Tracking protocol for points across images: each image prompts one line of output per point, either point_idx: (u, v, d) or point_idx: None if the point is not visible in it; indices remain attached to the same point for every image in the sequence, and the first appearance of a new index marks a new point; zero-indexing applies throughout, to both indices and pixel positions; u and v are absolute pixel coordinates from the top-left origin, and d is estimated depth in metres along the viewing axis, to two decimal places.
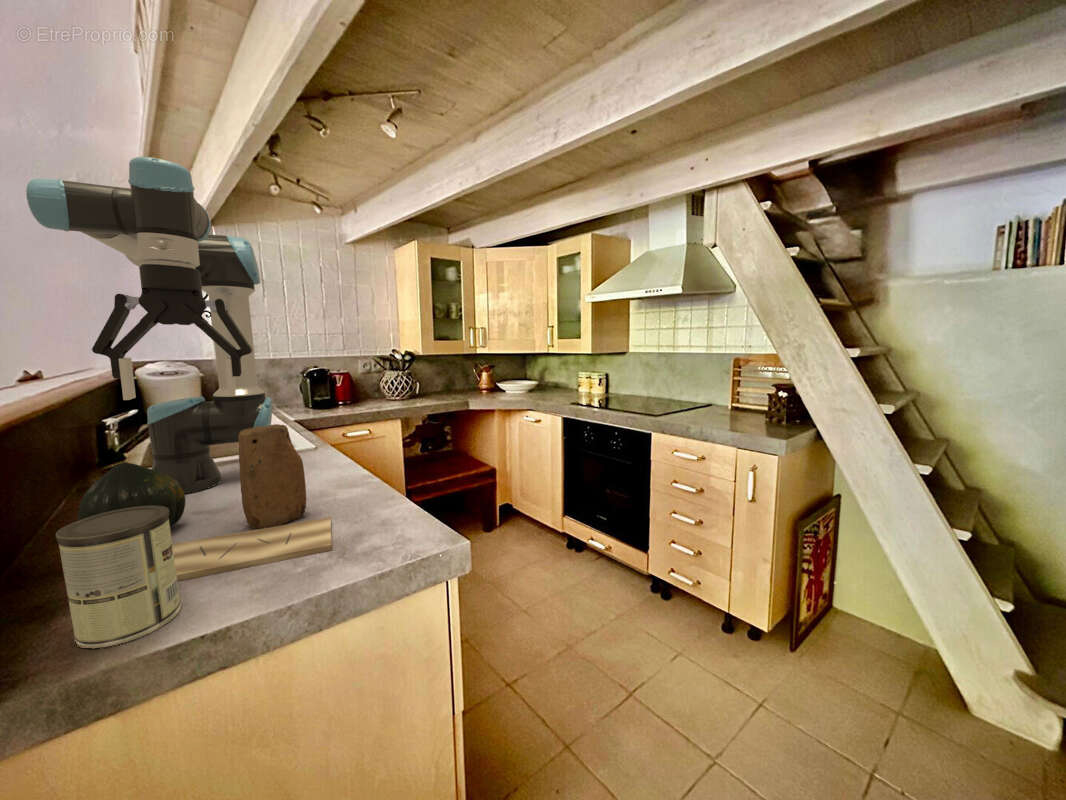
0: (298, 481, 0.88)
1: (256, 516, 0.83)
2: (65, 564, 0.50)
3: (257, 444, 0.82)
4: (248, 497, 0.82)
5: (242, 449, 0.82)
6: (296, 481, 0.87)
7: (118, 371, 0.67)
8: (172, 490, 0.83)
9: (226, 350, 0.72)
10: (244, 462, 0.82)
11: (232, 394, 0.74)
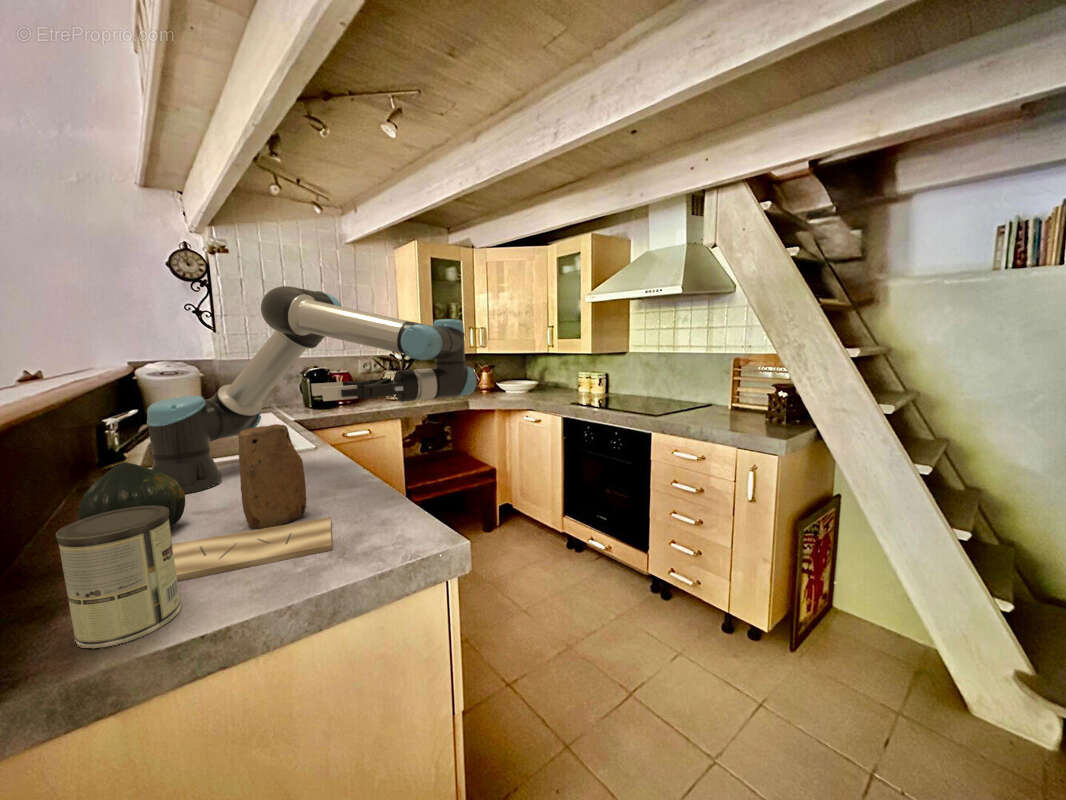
0: (298, 481, 0.88)
1: (256, 516, 0.83)
2: (65, 564, 0.50)
3: (257, 444, 0.82)
4: (248, 497, 0.82)
5: (242, 449, 0.82)
6: (296, 481, 0.87)
7: (347, 396, 0.87)
8: (172, 490, 0.83)
9: None
10: (244, 462, 0.82)
11: (313, 395, 0.97)
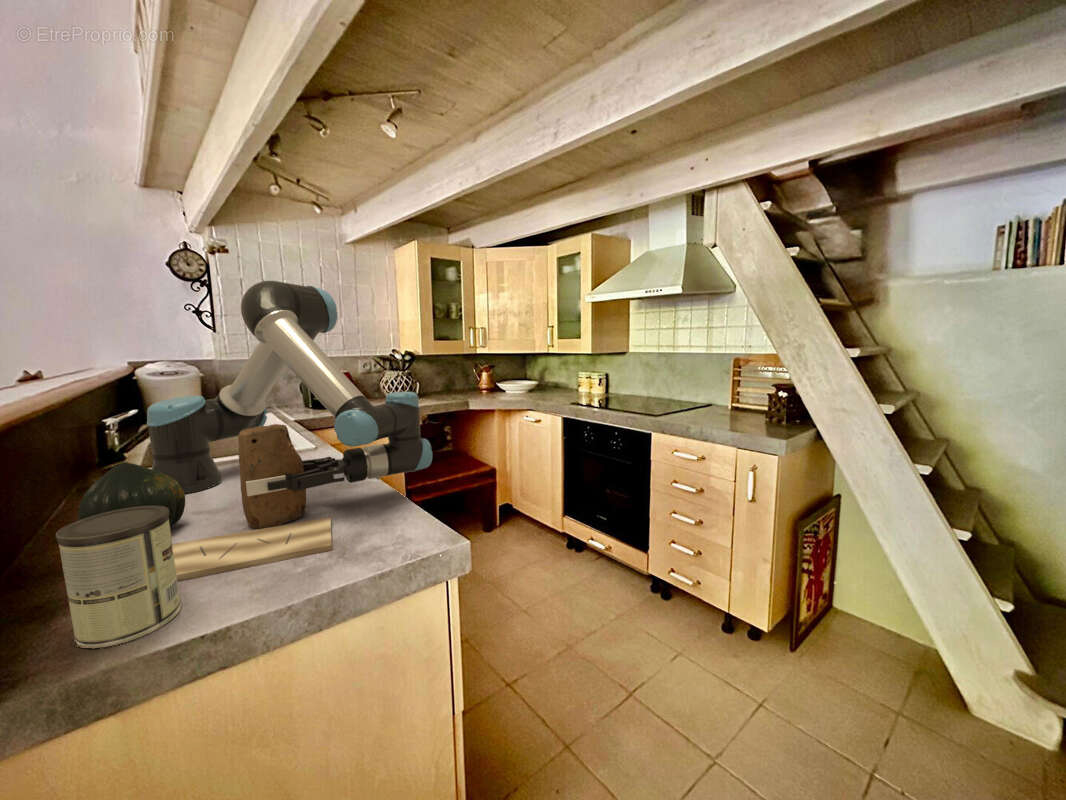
0: None
1: (256, 516, 0.83)
2: (65, 564, 0.50)
3: (257, 444, 0.82)
4: (248, 496, 0.82)
5: (242, 449, 0.82)
6: None
7: None
8: (172, 490, 0.83)
9: None
10: (244, 462, 0.82)
11: None
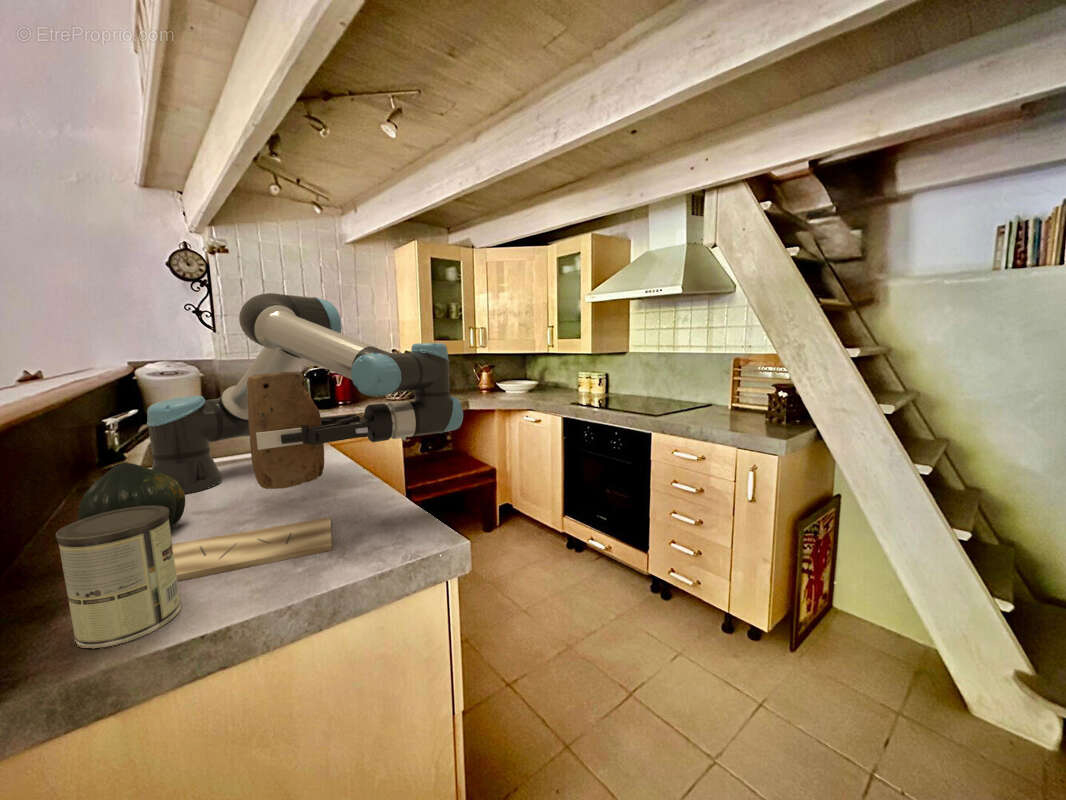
0: None
1: (268, 473, 0.72)
2: (65, 564, 0.50)
3: (269, 389, 0.71)
4: (259, 450, 0.71)
5: (252, 395, 0.70)
6: None
7: None
8: (172, 490, 0.83)
9: None
10: (254, 410, 0.70)
11: None
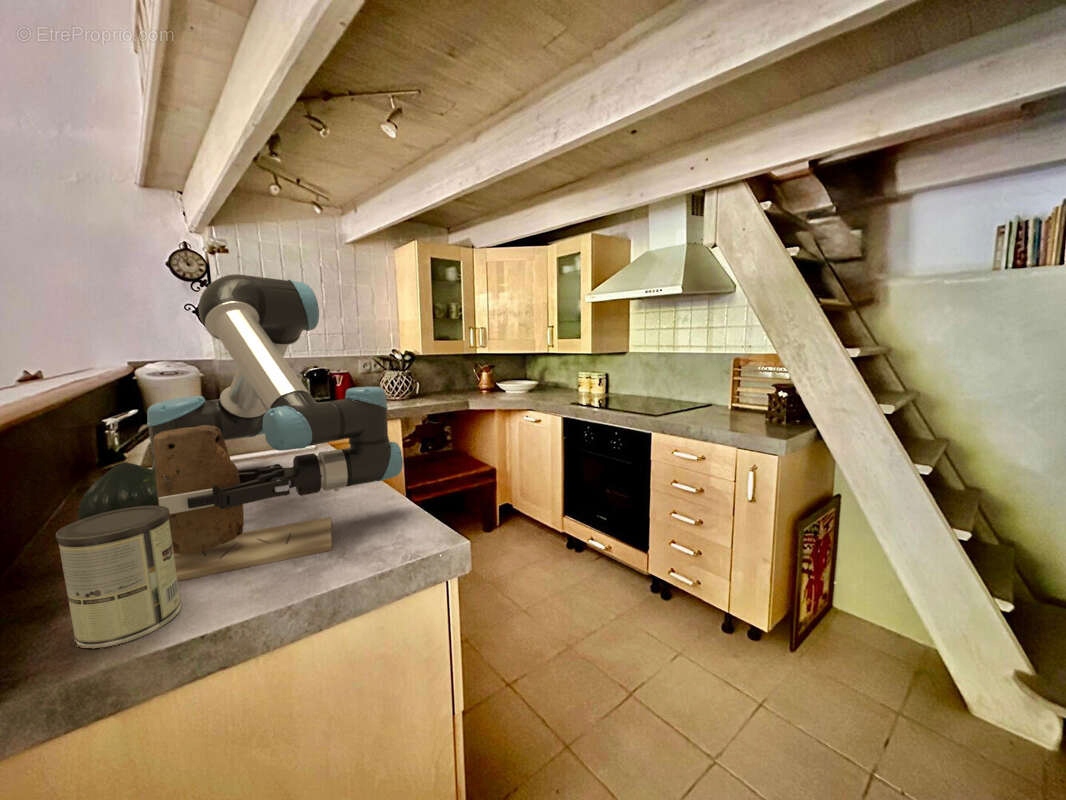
0: None
1: (174, 539, 0.67)
2: (65, 564, 0.50)
3: (174, 450, 0.66)
4: None
5: (155, 456, 0.65)
6: None
7: None
8: None
9: None
10: (157, 472, 0.65)
11: None
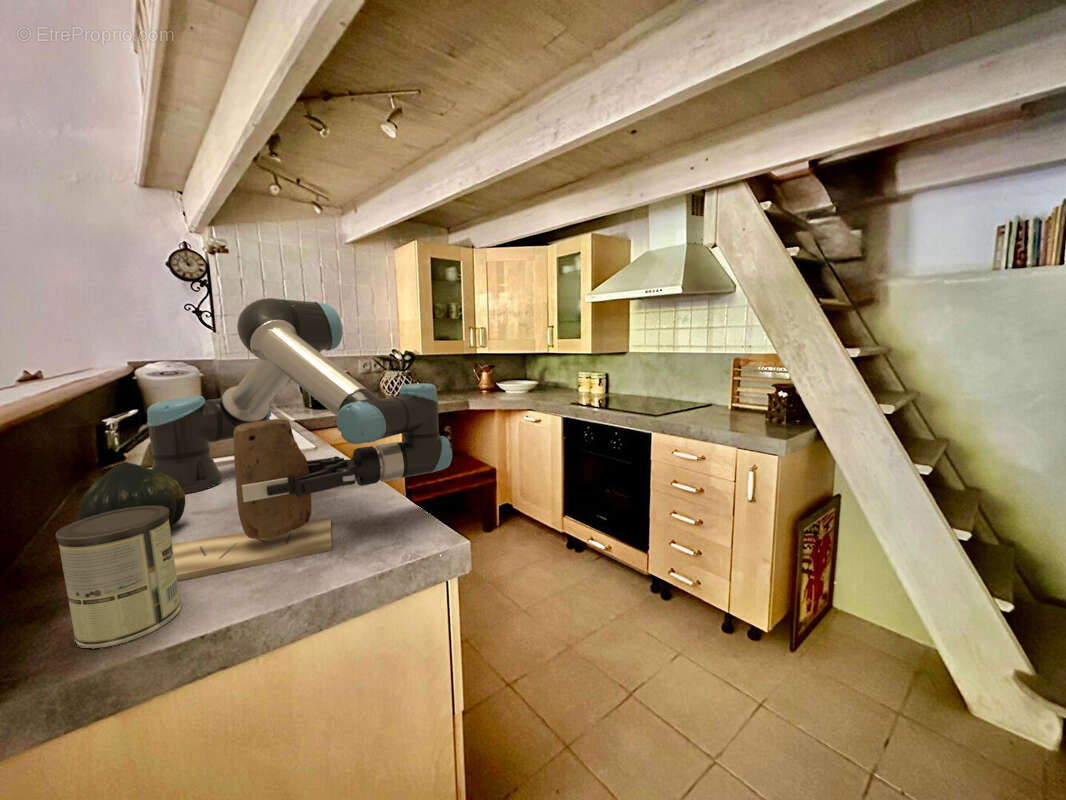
0: None
1: (254, 525, 0.72)
2: (65, 564, 0.50)
3: (255, 441, 0.71)
4: (245, 502, 0.71)
5: (237, 447, 0.70)
6: None
7: None
8: (172, 490, 0.83)
9: None
10: (240, 462, 0.70)
11: None
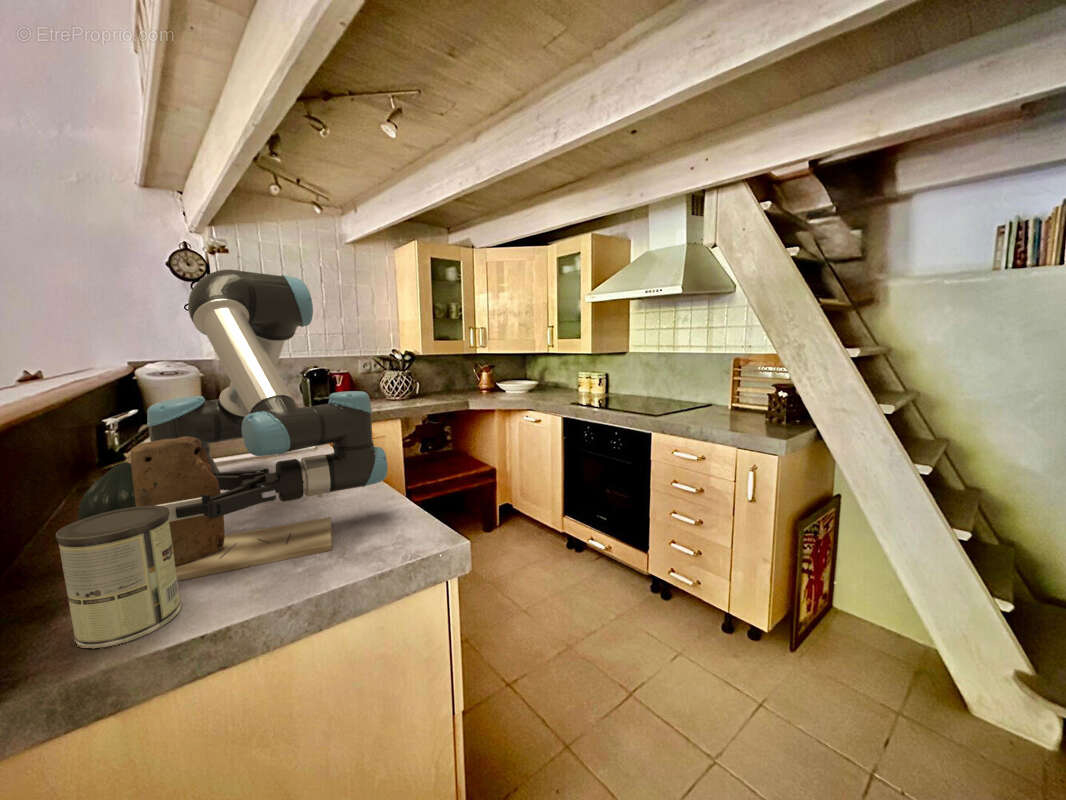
0: None
1: None
2: (65, 564, 0.50)
3: (151, 463, 0.65)
4: None
5: (132, 469, 0.65)
6: None
7: None
8: None
9: None
10: (134, 485, 0.65)
11: None
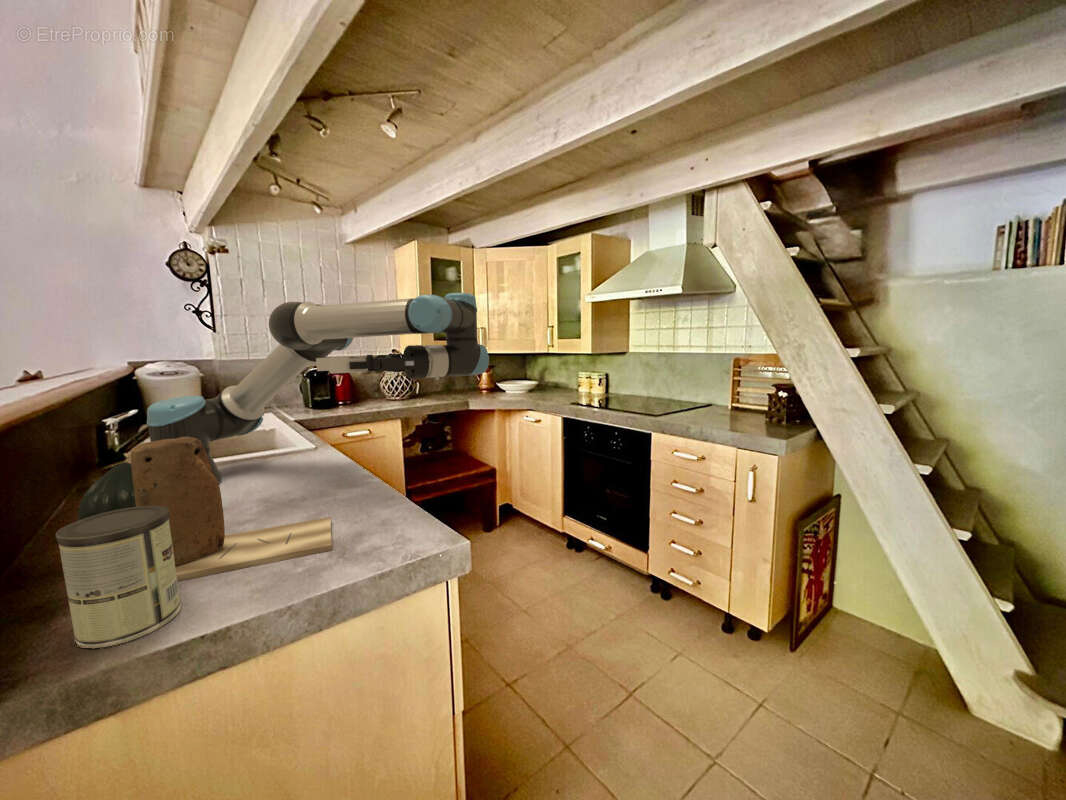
0: (211, 508, 0.71)
1: None
2: (65, 564, 0.50)
3: (151, 463, 0.65)
4: None
5: (132, 469, 0.65)
6: (208, 508, 0.70)
7: (356, 369, 0.82)
8: None
9: None
10: (134, 486, 0.65)
11: (318, 370, 0.91)
